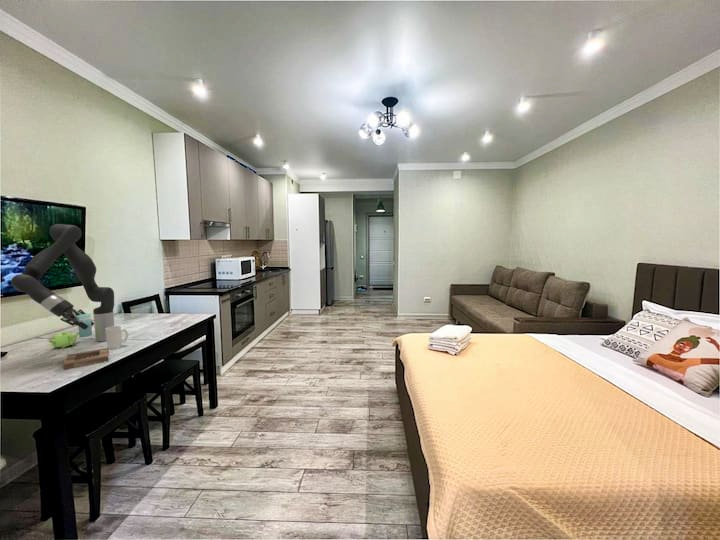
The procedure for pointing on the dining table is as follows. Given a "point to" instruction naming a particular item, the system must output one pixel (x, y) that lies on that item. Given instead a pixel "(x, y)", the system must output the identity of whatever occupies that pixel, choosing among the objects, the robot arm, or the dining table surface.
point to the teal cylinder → (87, 320)
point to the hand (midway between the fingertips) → (89, 326)
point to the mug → (115, 336)
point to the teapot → (64, 339)
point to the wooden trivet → (73, 362)
